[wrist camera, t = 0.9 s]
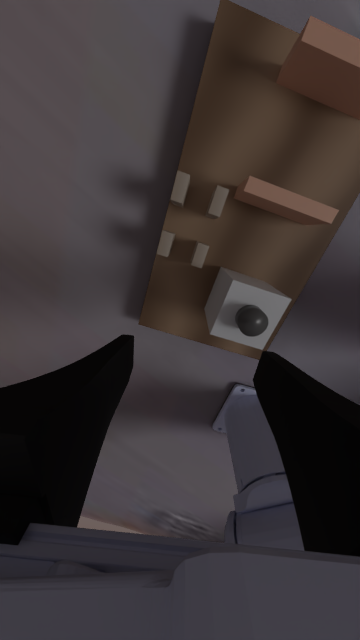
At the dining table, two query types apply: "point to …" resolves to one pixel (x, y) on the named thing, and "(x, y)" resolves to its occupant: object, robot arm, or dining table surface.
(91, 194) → the dining table surface
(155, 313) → the board
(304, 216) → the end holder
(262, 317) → the block
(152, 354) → the dining table surface
